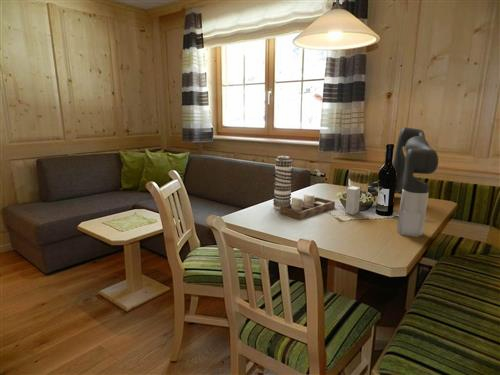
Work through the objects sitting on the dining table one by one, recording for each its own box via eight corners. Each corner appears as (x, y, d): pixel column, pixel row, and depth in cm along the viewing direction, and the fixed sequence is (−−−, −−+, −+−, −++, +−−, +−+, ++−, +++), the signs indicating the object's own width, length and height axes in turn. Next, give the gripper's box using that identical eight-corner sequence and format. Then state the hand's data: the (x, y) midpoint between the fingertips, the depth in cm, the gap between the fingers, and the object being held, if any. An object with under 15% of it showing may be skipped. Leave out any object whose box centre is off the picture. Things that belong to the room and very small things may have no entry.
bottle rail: (315, 202, 172) (316, 189, 170) (334, 207, 164) (335, 193, 162) (280, 213, 153) (280, 198, 151) (299, 219, 145) (300, 203, 143)
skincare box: (350, 210, 160) (352, 185, 157) (358, 211, 157) (361, 187, 155) (344, 213, 155) (346, 188, 153) (353, 214, 153) (355, 189, 150)
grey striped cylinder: (294, 208, 160) (297, 157, 155) (277, 210, 157) (279, 158, 151) (286, 203, 169) (288, 154, 163) (269, 205, 165) (271, 155, 160)
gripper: (367, 178, 177) (352, 183, 166) (394, 183, 167) (379, 188, 156) (366, 192, 179) (350, 197, 168) (392, 197, 169) (377, 203, 158)
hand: (364, 193), depth 162 cm, fingers open, 8 cm apart
